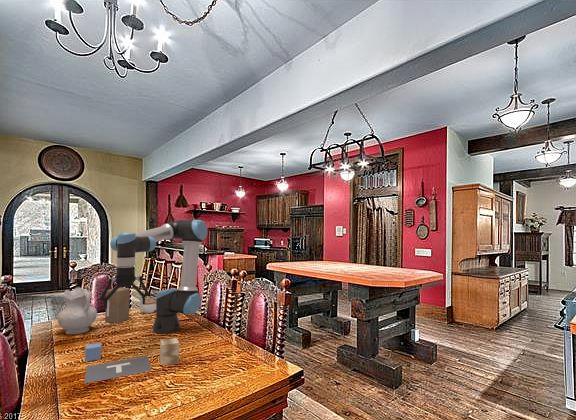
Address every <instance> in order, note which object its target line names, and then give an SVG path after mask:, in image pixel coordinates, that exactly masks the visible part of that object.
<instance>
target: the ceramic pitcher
mask: <svg viewBox="0 0 576 420" xmlns="http://www.w3.org/2000/svg"><path fill="white" fill-rule="evenodd" d="M91 297H92V292H91V291H90V290H89V289H85V288H82V287H79V286H77V287H75V288H74V289H73V290H72V291H70V290H69V289H68V290H67V289H65V291H64V292H63V298H64V300H65V302H66V303H65V307H64V308H63V309H62V310H60V312H59V313H58V314H57V317H56V318H57V323H58V325H59V327H60V328H61V329H63V330H65V335H79V334H83V333H88V331H90V330H91V329H90V328H89V327H90V326H92V325H93V324H94V322H95V321H96V319H97V315H98V311H97V310H98V309H96V308H95V307H94V306H92V305H91V299H92V298H91Z"/></svg>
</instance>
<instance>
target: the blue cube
mask: <svg viewBox="0 0 576 420" xmlns="http://www.w3.org/2000/svg"><path fill="white" fill-rule="evenodd" d="M101 356H102V342H95V343H91V344H90V343H89V344H86V345H85V349H84V362H91V361H97V360H101V358H102V357H101Z"/></svg>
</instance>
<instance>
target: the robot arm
mask: <svg viewBox="0 0 576 420" xmlns="http://www.w3.org/2000/svg"><path fill="white" fill-rule="evenodd" d="M207 237H208V226H207V225H206V223H205V222H204V221H203V220H201V219H179V220H175V221H171V222H168V223H164V224H162V225H161V226H158V227H154V228H150V229H145V230H143V231H138V232H120V233H118V235H117V236H113V237H112V239H111V240H110V248H111V250H113V251H115V252H116V267H117V268H116V276H115V278H111V277H109V278H108V279H107V281H108V282H107V284H106V285H105V288H104V289H103V291H102V292H101V294H100V297H99V301H103V308H104V310H106V309H107V316H109V300H108V299H109V298H110V297H111V296H112V295H113V294H114V293H115V291H116V290H117V289H118V288H130V287H131V288H133V289H134V290H135V291H136V292H137V293H138V294H139V295H140V297H139V313H143V311H142V304H145V300H146V297H149V296H150V292H149V291H148V289H147V287H146V284H145V282H144V281H143V276H142V275H139V276H136V272H135V271H136V267H135V265H136V253H148V252H152V251H154V250H156V249H155V248H156V247H157V242H160V241H164V240H166V241H168V240H181V242H182V244H183V245H184V247H183V254H182V255H183V256H182V264H181V276H180V277H181V278H180V284H179V287H178V288H168V289H163V290H159V291H157V292H156V299H155V300H156V309H155V320H154V322H153V325H152V332H153V333H156V334H170V333H174V332H177V331H179V330H181V322H180V320H179V317H178V314H184V315H193V314H195V313H196V312H198V310H199V308H200V307H201V306H202V305H201V304H202V297H201V296H202V295H201V294H199V292H198V291H199V289H198V288H197V278H198V277H197V275H198V265H199V264H198V263H199V253H200V246H201V245H202V244H203V240H206V238H207ZM135 281H137V282H139V284H140V286H141V287H142V290H143V291H144V292H143V291H142V290H140V289H139V287H138V286H137V285H136V284H135ZM114 282H115V283H116V284H115V286H114V287H113V288H111V289H112V291H111V292H110V293H109V294H108V295H107V296H106V293H107V291H108V290H110V287H111V285H112V284H114Z"/></svg>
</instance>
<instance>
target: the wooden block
mask: <svg viewBox="0 0 576 420" xmlns="http://www.w3.org/2000/svg"><path fill="white" fill-rule="evenodd" d="M112 289H113V288H109V289H108V291H107V293H106V295H105V297H106V296H107V295H108V294H109V293H110V292H111V291H112ZM130 292H131V288H130V287H124V288H122V287H119V288H118V289H117V290H116V291H115V293H114V294H113V295H112V296H111V297H110V298H109V299H108V300H109V316H107V309H104V310H105V314H104V315H105V317H104V322H105V323H111V324H112V323H114V324H119V323H122V322H124V321H127V320H129V319H130V300H131V299H130V298H131V297H130V295H131V293H130Z"/></svg>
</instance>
